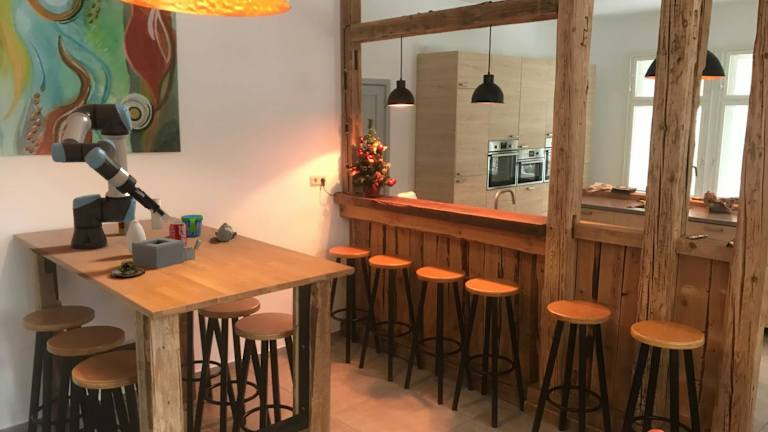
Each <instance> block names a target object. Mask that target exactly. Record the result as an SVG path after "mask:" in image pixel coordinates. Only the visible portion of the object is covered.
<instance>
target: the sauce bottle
mask: <svg viewBox="0 0 768 432" xmlns="http://www.w3.org/2000/svg"><path fill="white" fill-rule="evenodd" d="M125 236H126V237H125V244H126V248H127V250H128V252H129V253H130V254H132V243H133V242H138V241H143V240H147V238H146V234H145V230H144V228H143V226H142V225H141V223H140V222H139V220H138V219H136V214H135V215H134V220H132V223H131V224H130V226H129V228H128V231H127V235H125Z"/></svg>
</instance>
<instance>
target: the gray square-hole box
mask: <svg viewBox="0 0 768 432" xmlns="http://www.w3.org/2000/svg"><path fill="white" fill-rule="evenodd" d="M131 260H132V262H133V264H132V265H133V266H137V267H139V266H140V267H142V268H143V267H144V268H148V267H149V268H150V269H155V270H159V268H160V269H163V268H167V267H171V266H173V265H177V264H182V263H184V262H185V260H184V244H183V241H182V240H175V239H170V238H167V237H161V236H159V237H154V238H149V239H148V238H147V239H146V240H143V241H138V242H133V243H132V253H131ZM149 268H148V269H149Z"/></svg>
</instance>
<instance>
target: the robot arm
mask: <svg viewBox="0 0 768 432" xmlns="http://www.w3.org/2000/svg"><path fill="white" fill-rule="evenodd" d="M89 131H100V136H102V137H103V138H102V139H100V140H98V141H97V142H84V141H85V138H86V137H87V136H86V135H87V133H88V132H89ZM131 131H133V124H132V117H131V112H130V109H129V106H127V105H126V104H120V103H86V104H83V105H80V106H78V107H76V108H75V109H73V110H72V111H71V112H70V113H69V114H68V116H67V117H66V128H65V131H64V134H63V135H62V139H61V141H60V142H54V143H52V144H51V146H50V152H51V159H52V161H53V162H55V163H63V164H65V163H67V164H68V163H86V164H87V165H88V167H89V168H91V169H92V170H94V171H95V172H96V173H97V174H98V175H100V176H101V177H102V178H104V180H105V181H107V186H108V187H107V189H108V190H107V192H105V197H102V196H101V194H100V193H95V194H94V193H93V194H87V195H81V196H77V197H75V198H73V201H72V217H73V229H74V230H73V233H72V236H71V241H70V247H71V248H72V249H76V250H79V249H81V250H85V249H88V250H90V249H98V248H103V247H106V246H107V245H108V238H107V237H106V233H105V231H104V229H103V223H105V224H106V223H118V222H129V221H132V220H134V215H135V216H136V207H137V202H138V203H139V204H140V205H141V206H142V207H144V209H147V210H149V211H150V212H151V209H152V210H153V213H156V214H157V215H158V216H159V217H160V218H162V221H164V222H165V223H168V222H169V220H170V219H171V218H172V216H170V215H169V214H168V213H167V212H166V211H165V210H163V209H162V207H161V208H160V206H159V205H158V204H157V203H156V202H155V201H153V200H152V199H153V198H152V197H150V196H149V195H148V194H147V193H146V192H145V191H144V190H142V189H141V188H140V187H139V186H138V187H137V186H136V184H137V183H138V182H137V179H136V178H135V177H134V176H133V175H131V174H129V169H128V156H127V155H128V154H127V141H126V140H127V138H128V137H129V136H130V132H131Z"/></svg>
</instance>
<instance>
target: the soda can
mask: <svg viewBox="0 0 768 432" xmlns="http://www.w3.org/2000/svg"><path fill="white" fill-rule="evenodd" d="M168 229H169V230H168V231H169V232H168V233H169V234H168V235H169V239H175V240H182V241H183V244H184V250H186V248H187V247H188V242H187V241H188V240H187V239H188V237H186V225H185V222H182V221H172V222H170V223H169V227H168Z"/></svg>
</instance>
